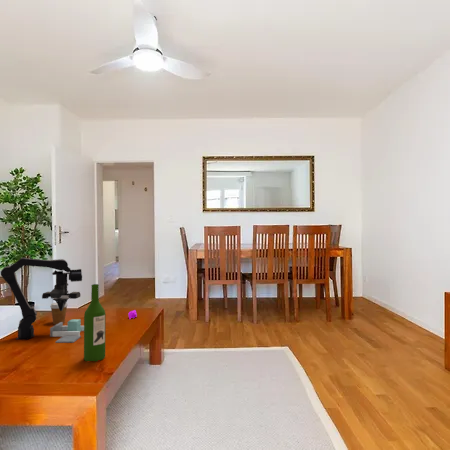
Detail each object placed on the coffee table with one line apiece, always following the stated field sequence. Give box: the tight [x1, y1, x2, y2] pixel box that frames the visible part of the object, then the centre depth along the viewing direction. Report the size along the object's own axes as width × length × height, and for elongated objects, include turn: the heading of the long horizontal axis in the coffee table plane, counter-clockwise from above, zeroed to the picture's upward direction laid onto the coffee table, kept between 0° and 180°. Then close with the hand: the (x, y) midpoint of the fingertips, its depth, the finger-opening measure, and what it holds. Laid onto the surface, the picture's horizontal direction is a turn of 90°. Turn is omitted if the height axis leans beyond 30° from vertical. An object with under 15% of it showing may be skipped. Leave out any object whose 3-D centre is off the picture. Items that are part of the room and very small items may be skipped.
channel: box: [49, 322, 84, 338], centre depth 188 cm, size 15×11×4 cm
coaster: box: [55, 335, 82, 344], centre depth 177 cm, size 9×9×1 cm
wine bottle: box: [83, 283, 106, 362], centre depth 152 cm, size 9×9×32 cm
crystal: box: [127, 309, 138, 320], centre depth 220 cm, size 5×5×5 cm
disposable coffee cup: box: [50, 301, 68, 326], centre depth 208 cm, size 10×10×12 cm
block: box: [67, 318, 82, 333], centre depth 188 cm, size 5×5×7 cm
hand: (61, 310), depth 188 cm, fingers closed
